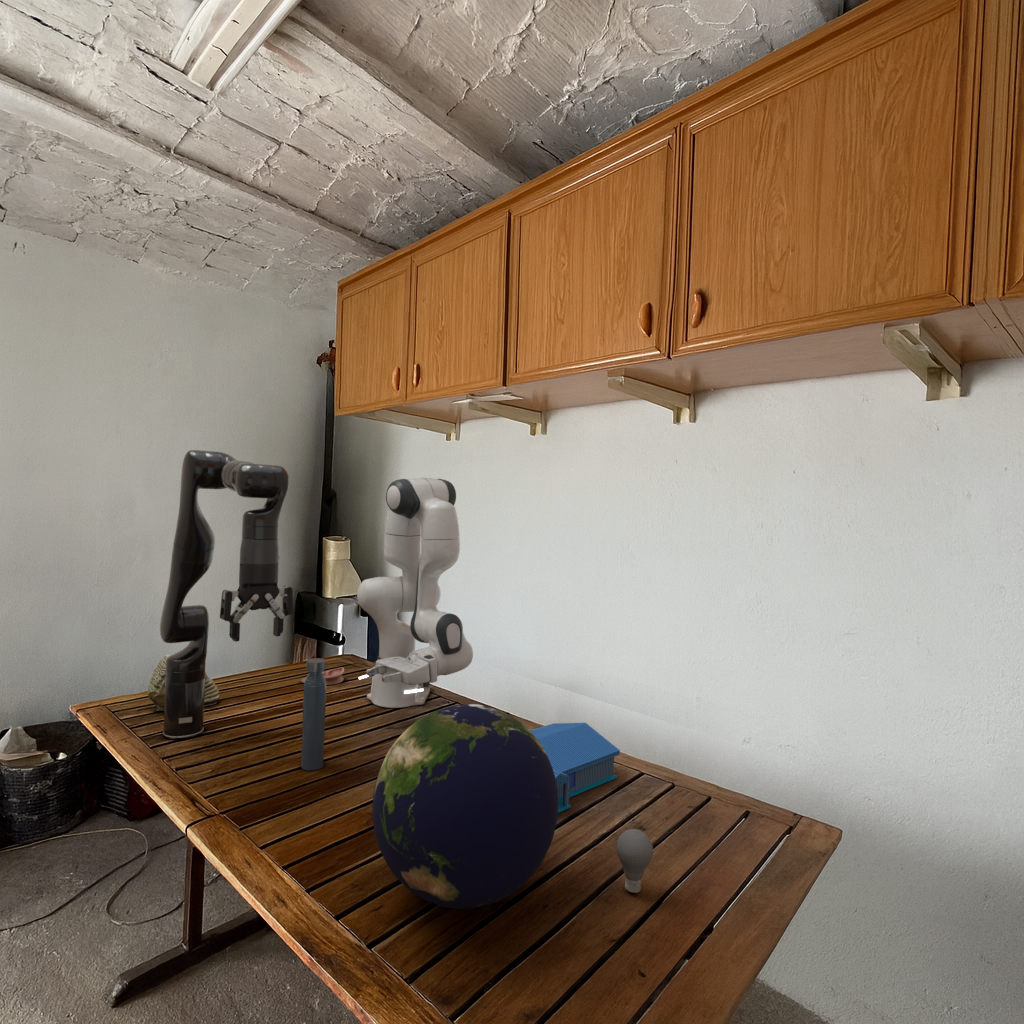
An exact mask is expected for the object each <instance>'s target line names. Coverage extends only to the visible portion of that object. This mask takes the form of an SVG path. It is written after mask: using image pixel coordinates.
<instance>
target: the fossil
mask: <svg viewBox="0 0 1024 1024" xmlns="http://www.w3.org/2000/svg"><path fill="white" fill-rule="evenodd" d="M171 655H172V654H165V655H164V656H163V657H162V658H161V659H160V660H159V662H158V663H157V666H156V667H155V669H154V670H153V672H152V675H151V677H150V680H149V684H148V688H147V697H148V699H149V700H150V701H152V703H153V704H154V706H155V711H158V712H159V711H162V712H163V711H164V705H165V674H166V660H167V658H168V657H169V656H171ZM220 698H221V696H220V690H219V688H218V686H217V685H216V683H215V682H214V681H213V679H212V678H211V677H209V675H208V674H207V672H206V671H205V693H204V707H207V706H213V705H215V704H217V703H218V701H219V699H220Z"/></svg>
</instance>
